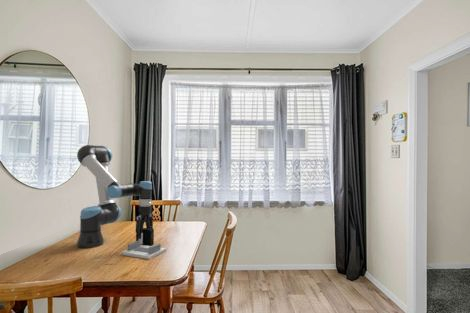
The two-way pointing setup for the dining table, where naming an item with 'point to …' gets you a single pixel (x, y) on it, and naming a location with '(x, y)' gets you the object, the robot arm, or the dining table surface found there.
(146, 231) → the electronic device
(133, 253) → the mounting board
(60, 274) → the dining table surface
